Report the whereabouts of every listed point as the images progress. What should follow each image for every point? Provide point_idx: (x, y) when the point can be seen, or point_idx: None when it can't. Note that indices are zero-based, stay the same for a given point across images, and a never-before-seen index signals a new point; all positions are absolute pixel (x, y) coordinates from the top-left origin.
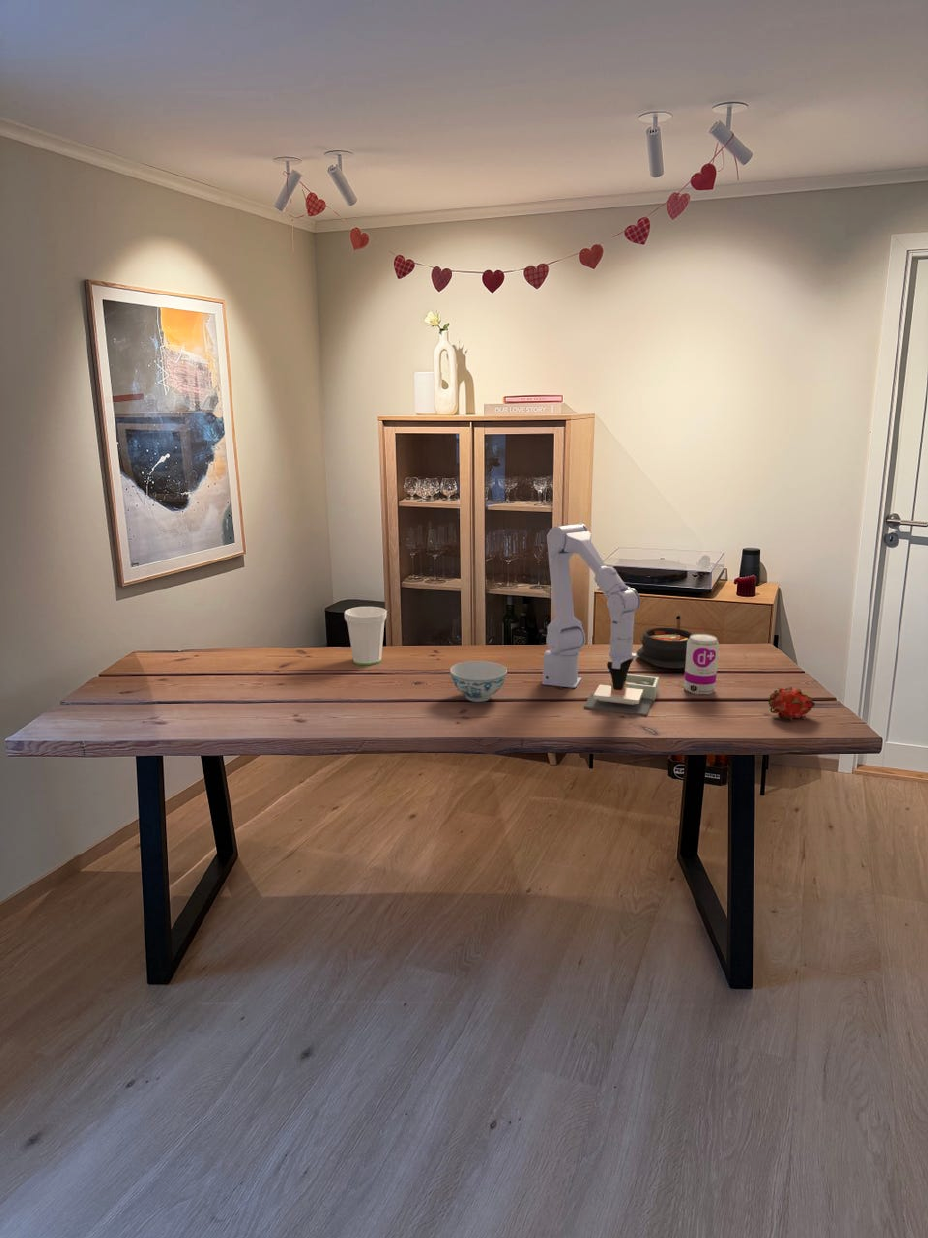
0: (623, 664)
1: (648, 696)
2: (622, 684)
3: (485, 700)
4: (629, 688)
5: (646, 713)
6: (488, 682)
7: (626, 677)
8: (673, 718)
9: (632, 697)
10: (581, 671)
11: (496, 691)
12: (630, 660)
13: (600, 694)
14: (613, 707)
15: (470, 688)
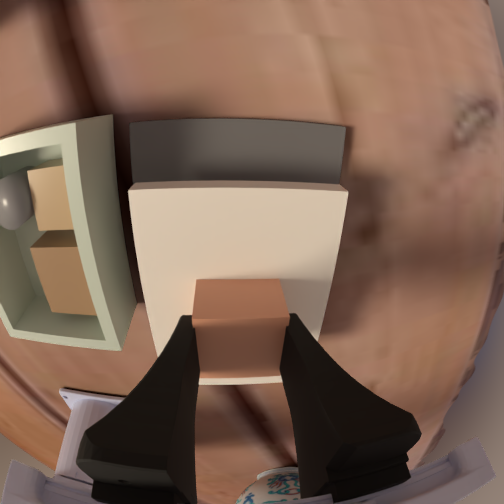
0: (184, 449)
1: (106, 149)
2: (313, 338)
3: (296, 468)
4: (148, 270)
5: (339, 129)
6: None
7: (171, 342)
8: (335, 4)
9: (305, 232)
10: (15, 382)
11: (298, 478)
12: (171, 469)
13: None
14: None
15: None
